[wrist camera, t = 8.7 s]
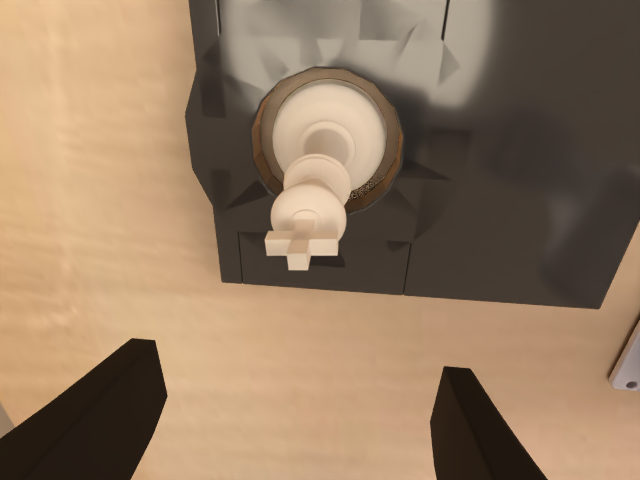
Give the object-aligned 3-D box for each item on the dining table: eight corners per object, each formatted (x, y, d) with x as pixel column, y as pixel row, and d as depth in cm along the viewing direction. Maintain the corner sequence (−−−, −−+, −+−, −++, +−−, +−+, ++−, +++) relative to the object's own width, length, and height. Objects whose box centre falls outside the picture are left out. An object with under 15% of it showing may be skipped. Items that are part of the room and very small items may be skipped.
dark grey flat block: (746, -93, 13) (789, -105, 12) (584, 291, 20) (599, 310, 19) (172, -97, 14) (153, -109, 13) (216, 265, 21) (207, 282, 20)
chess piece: (267, 81, 17) (163, 156, 8) (388, 75, 16) (418, 148, 7) (279, 193, 19) (210, 343, 10) (385, 191, 19) (406, 347, 10)
